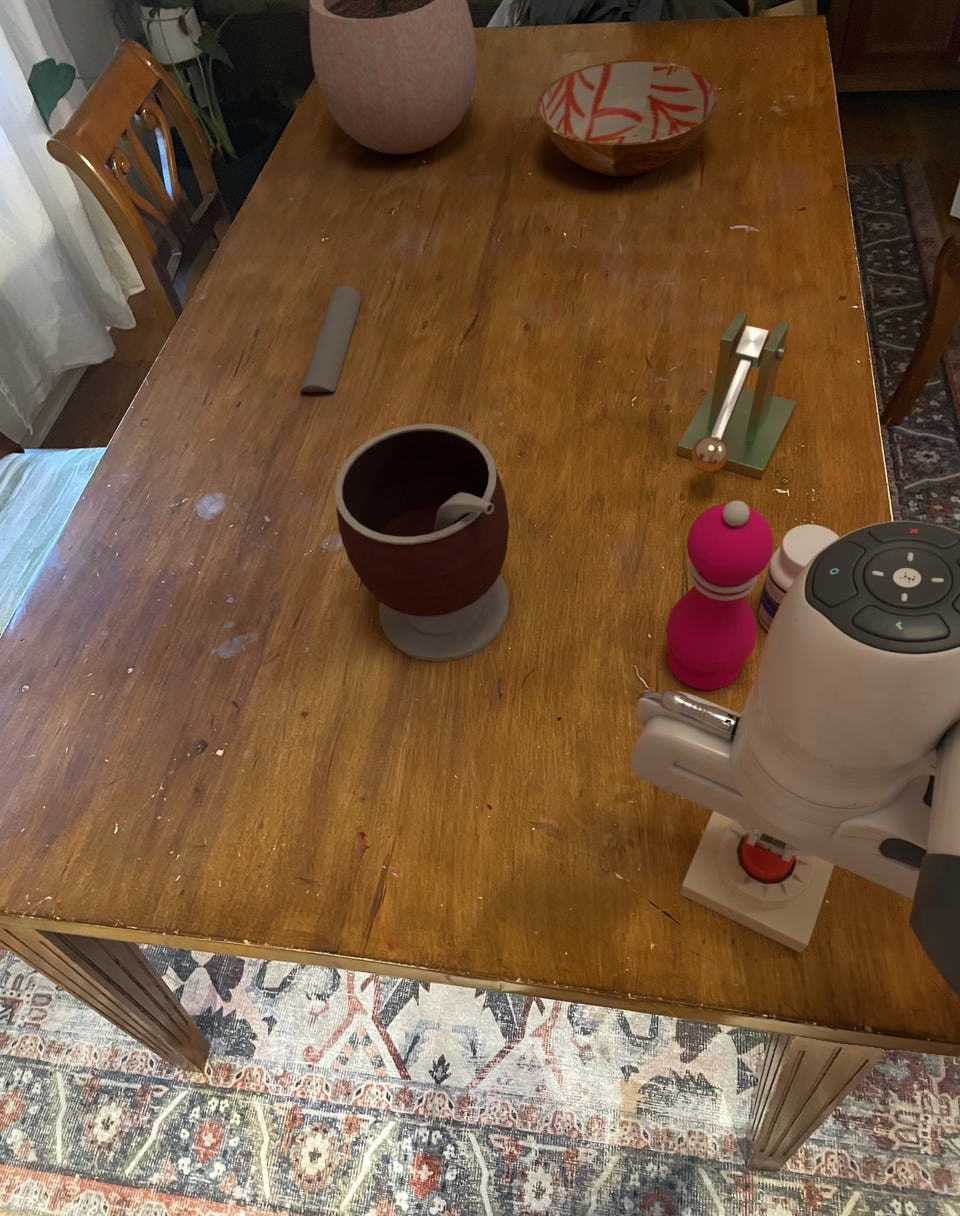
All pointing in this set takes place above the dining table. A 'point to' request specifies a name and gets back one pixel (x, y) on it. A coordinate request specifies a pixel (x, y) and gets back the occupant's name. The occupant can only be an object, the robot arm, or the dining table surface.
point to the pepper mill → (718, 596)
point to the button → (763, 863)
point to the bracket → (744, 406)
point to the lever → (730, 401)
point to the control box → (755, 887)
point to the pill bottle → (790, 566)
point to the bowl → (627, 114)
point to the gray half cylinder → (332, 341)
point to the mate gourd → (428, 537)
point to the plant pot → (394, 68)
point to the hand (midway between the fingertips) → (770, 843)
